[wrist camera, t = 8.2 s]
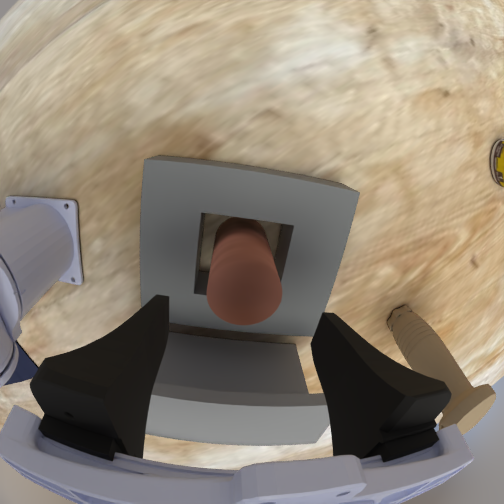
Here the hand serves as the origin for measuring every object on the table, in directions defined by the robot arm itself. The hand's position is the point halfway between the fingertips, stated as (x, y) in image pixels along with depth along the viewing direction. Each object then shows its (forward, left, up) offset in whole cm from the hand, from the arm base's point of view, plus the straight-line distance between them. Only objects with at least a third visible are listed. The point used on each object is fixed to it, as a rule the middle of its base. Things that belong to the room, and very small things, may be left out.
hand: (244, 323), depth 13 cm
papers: (-44, -20, -11) cm, 50 cm away
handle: (+18, -6, -10) cm, 22 cm away
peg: (0, 0, -10) cm, 10 cm away
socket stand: (0, -2, -10) cm, 10 cm away
